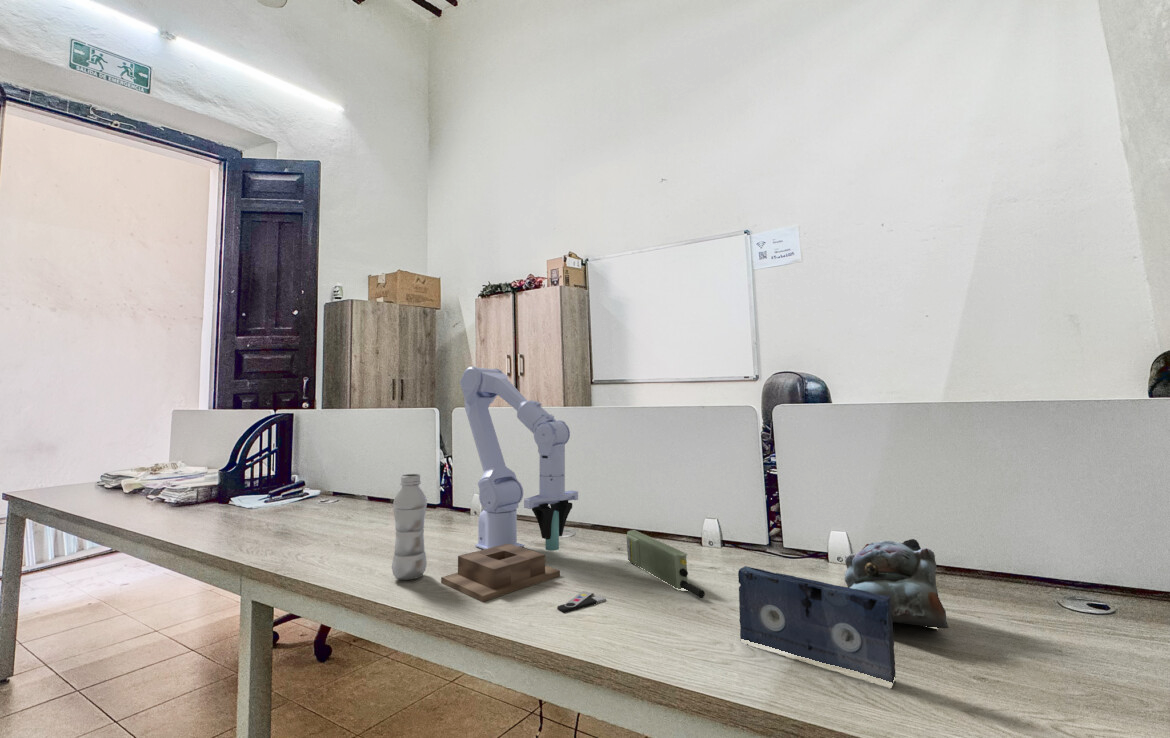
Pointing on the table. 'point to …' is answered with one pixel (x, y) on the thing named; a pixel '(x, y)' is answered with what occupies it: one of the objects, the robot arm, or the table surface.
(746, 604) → the vhs cassette tape
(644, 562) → the handheld radio
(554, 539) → the peg
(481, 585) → the socket board
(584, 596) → the usb flash drive
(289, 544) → the table surface
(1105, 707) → the table surface
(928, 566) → the lucky cat figurine
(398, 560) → the plastic bottle
